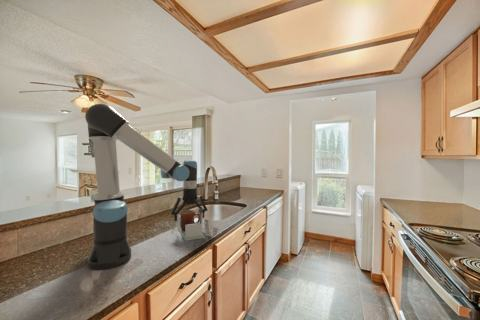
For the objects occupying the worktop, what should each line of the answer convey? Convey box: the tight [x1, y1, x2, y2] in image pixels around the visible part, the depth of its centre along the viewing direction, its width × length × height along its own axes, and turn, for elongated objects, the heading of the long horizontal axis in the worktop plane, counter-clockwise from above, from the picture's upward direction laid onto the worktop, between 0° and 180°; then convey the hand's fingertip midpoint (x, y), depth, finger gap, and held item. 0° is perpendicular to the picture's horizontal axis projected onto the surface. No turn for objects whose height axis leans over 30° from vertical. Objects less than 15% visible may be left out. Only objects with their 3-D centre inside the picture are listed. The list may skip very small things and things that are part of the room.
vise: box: [176, 208, 204, 242], centre depth 115 cm, size 10×22×15 cm, turn 27°
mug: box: [179, 209, 200, 231], centre depth 115 cm, size 12×9×10 cm
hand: (189, 225), depth 115 cm, fingers open, 13 cm apart
